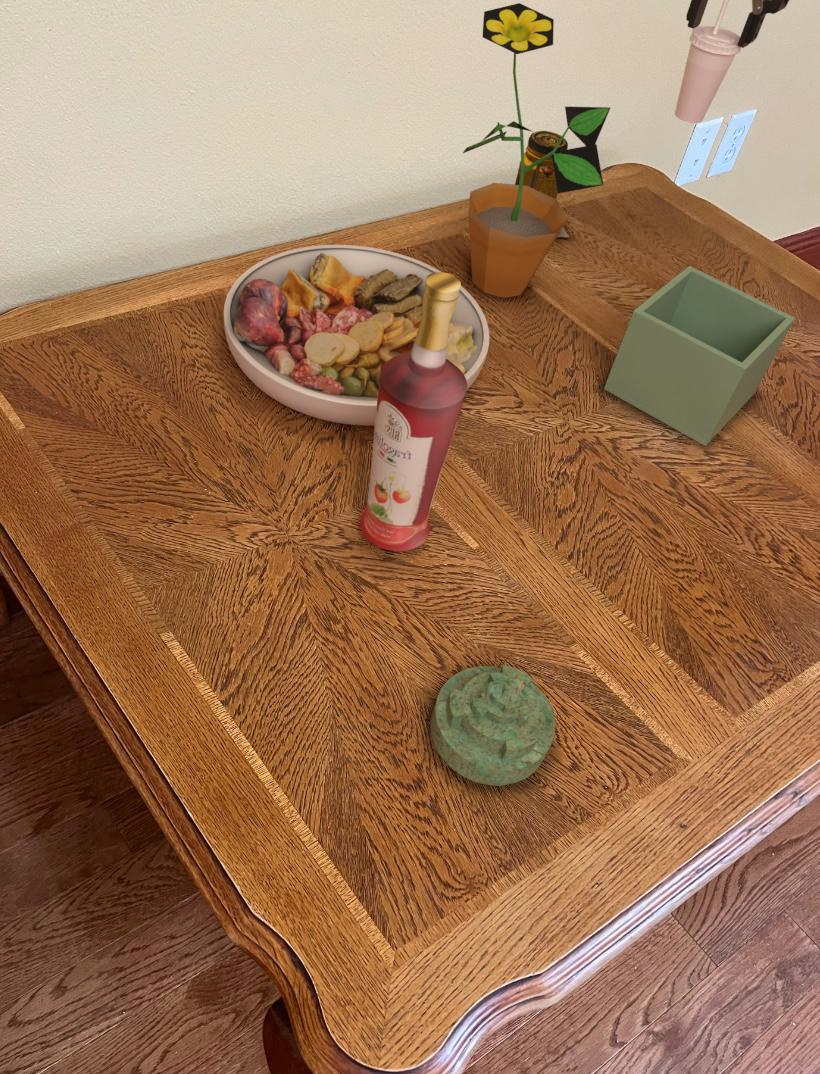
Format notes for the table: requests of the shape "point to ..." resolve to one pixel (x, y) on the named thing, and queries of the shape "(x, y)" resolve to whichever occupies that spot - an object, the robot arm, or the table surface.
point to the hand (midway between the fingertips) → (717, 35)
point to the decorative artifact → (492, 725)
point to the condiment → (542, 165)
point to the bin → (696, 353)
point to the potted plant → (516, 210)
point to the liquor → (414, 425)
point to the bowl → (338, 327)
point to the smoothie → (705, 68)
